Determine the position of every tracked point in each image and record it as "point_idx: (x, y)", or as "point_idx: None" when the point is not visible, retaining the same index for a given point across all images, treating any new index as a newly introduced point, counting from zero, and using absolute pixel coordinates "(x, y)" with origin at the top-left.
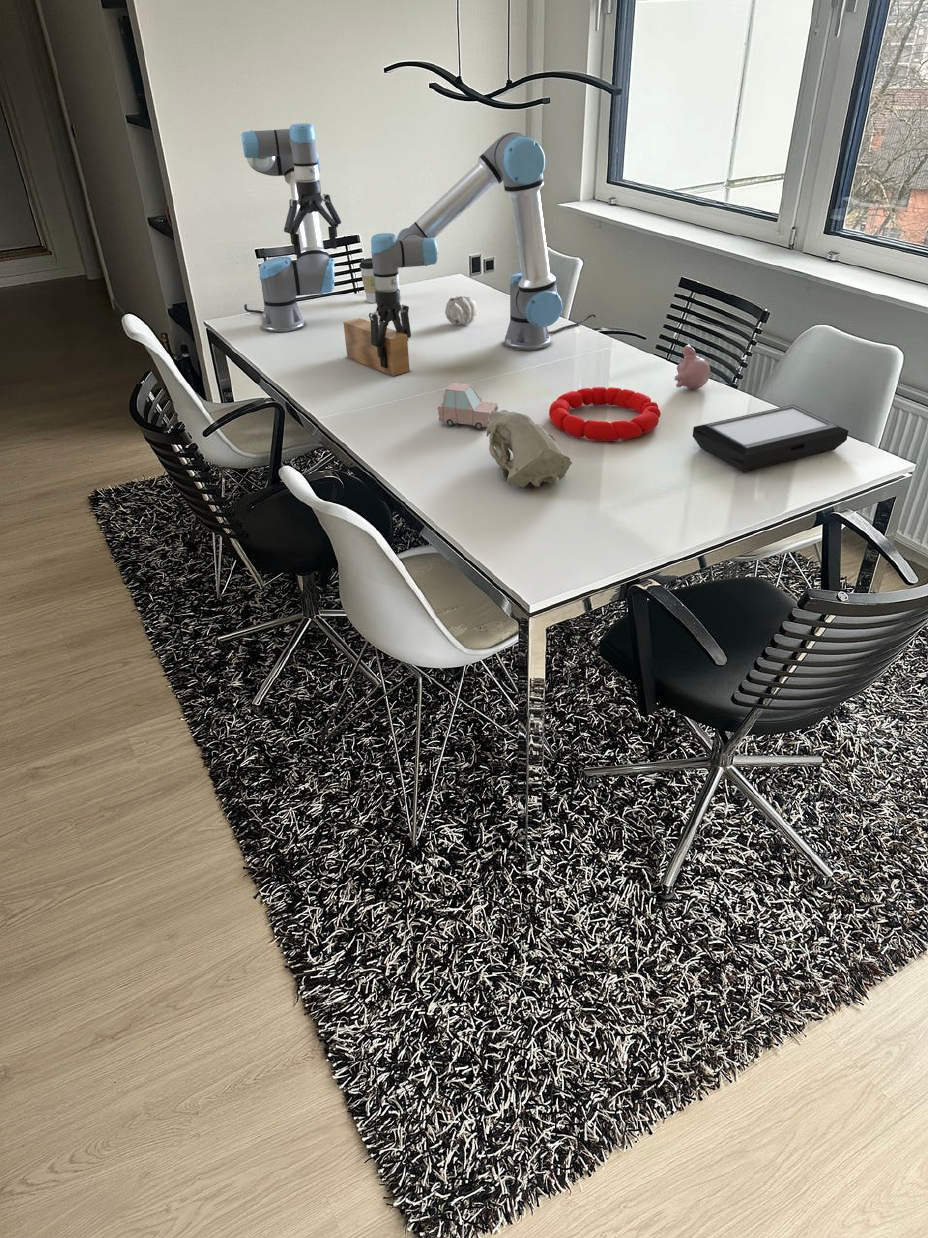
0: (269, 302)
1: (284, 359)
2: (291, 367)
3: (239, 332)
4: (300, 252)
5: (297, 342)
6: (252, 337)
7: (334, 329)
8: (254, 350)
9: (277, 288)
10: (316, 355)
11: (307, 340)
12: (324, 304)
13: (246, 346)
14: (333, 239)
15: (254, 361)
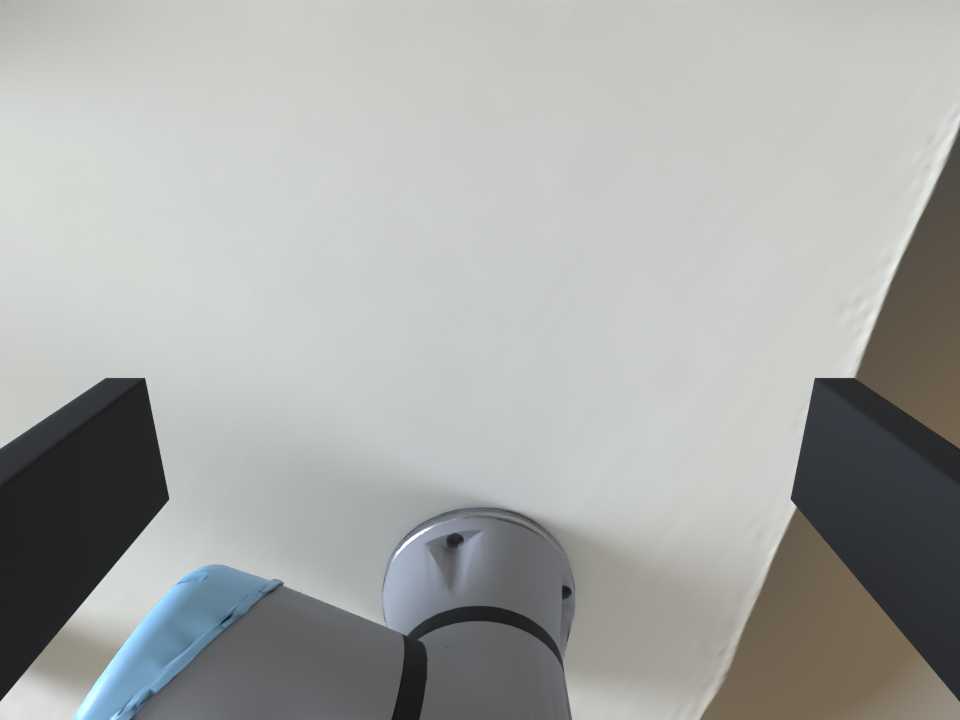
0: (560, 665)
1: (784, 160)
2: (852, 4)
3: (660, 636)
4: (853, 397)
5: (570, 351)
6: (666, 549)
7: (323, 396)
8: (781, 390)
9: (531, 696)
10: (632, 89)
11: (518, 343)
12: None
13: (765, 463)
14: (51, 461)
15: (894, 246)
